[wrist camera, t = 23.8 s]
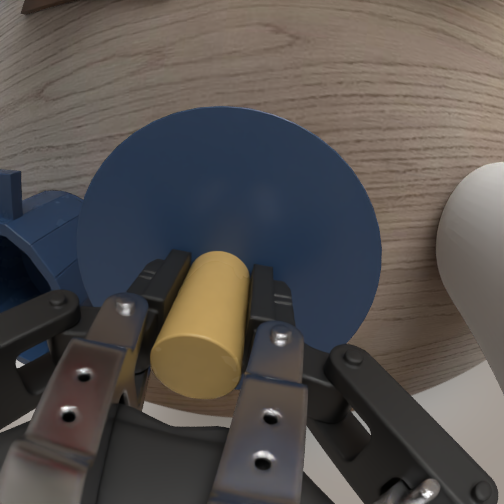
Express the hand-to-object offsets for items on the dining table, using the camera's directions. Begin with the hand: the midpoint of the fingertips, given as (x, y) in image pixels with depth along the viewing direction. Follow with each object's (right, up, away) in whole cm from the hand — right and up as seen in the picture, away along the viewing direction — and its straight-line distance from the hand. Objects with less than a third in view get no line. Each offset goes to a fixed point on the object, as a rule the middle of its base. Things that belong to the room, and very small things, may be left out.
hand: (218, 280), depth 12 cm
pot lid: (0, 0, +1) cm, 1 cm away
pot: (-14, 0, +10) cm, 17 cm away
